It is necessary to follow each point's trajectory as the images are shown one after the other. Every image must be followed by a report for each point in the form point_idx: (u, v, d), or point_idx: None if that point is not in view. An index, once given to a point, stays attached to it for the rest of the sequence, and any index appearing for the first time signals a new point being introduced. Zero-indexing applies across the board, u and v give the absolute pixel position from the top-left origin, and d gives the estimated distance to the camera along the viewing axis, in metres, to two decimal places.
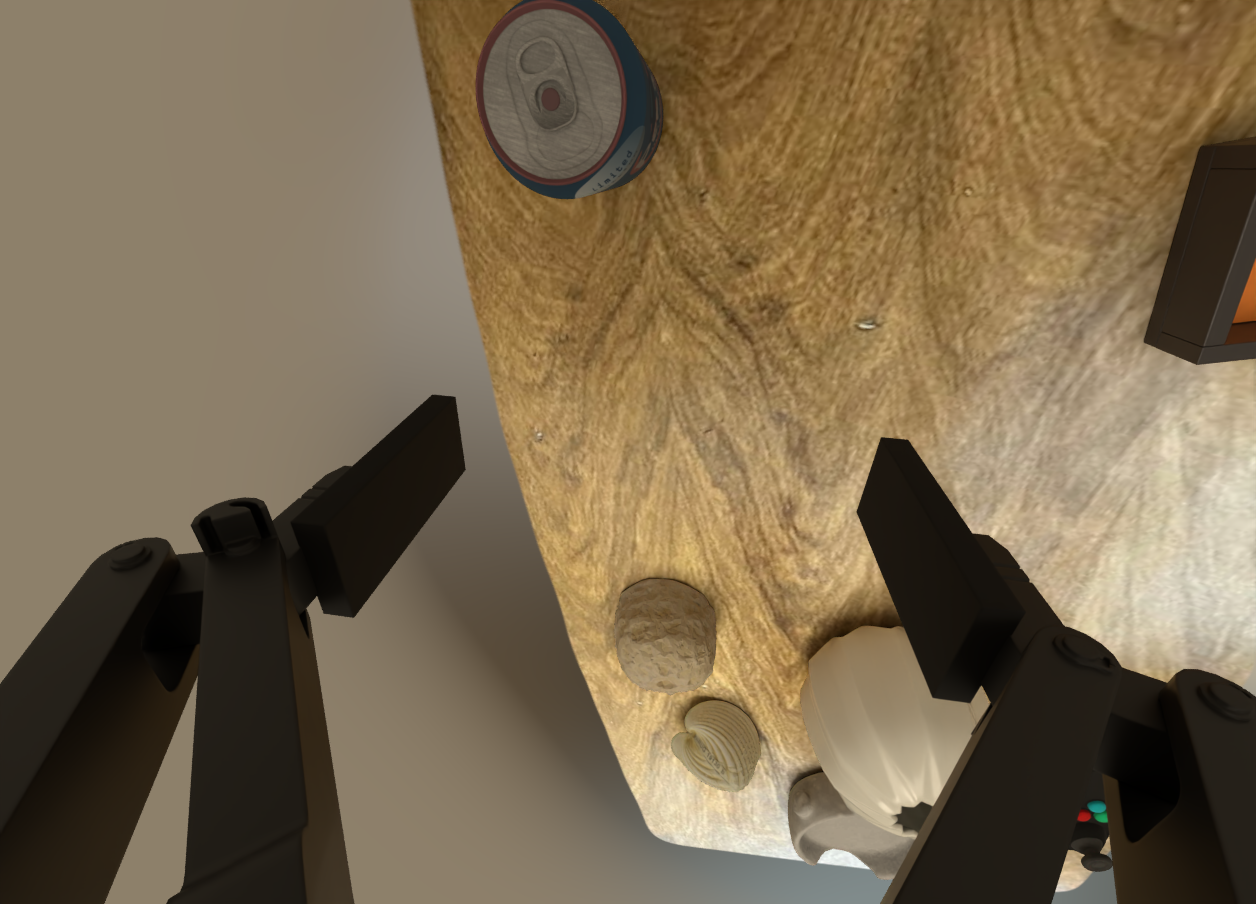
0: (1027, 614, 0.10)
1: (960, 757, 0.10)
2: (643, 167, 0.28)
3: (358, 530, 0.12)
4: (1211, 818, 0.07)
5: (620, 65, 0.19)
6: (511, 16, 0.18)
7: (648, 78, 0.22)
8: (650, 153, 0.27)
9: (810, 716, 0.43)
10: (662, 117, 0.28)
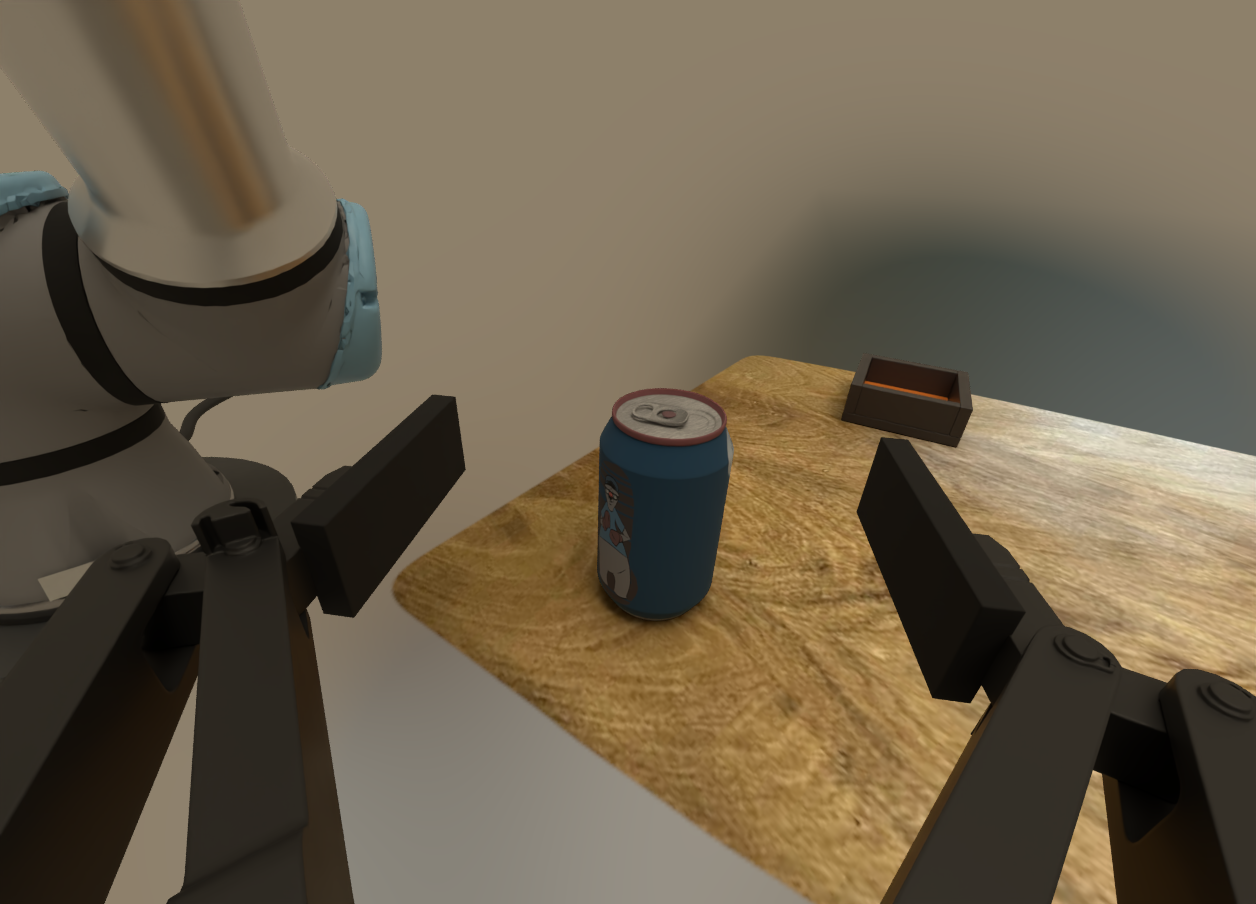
0: (1027, 614, 0.10)
1: (960, 757, 0.10)
2: None
3: (358, 530, 0.12)
4: (1211, 818, 0.07)
5: (681, 390, 0.28)
6: (616, 406, 0.26)
7: None
8: None
9: None
10: None
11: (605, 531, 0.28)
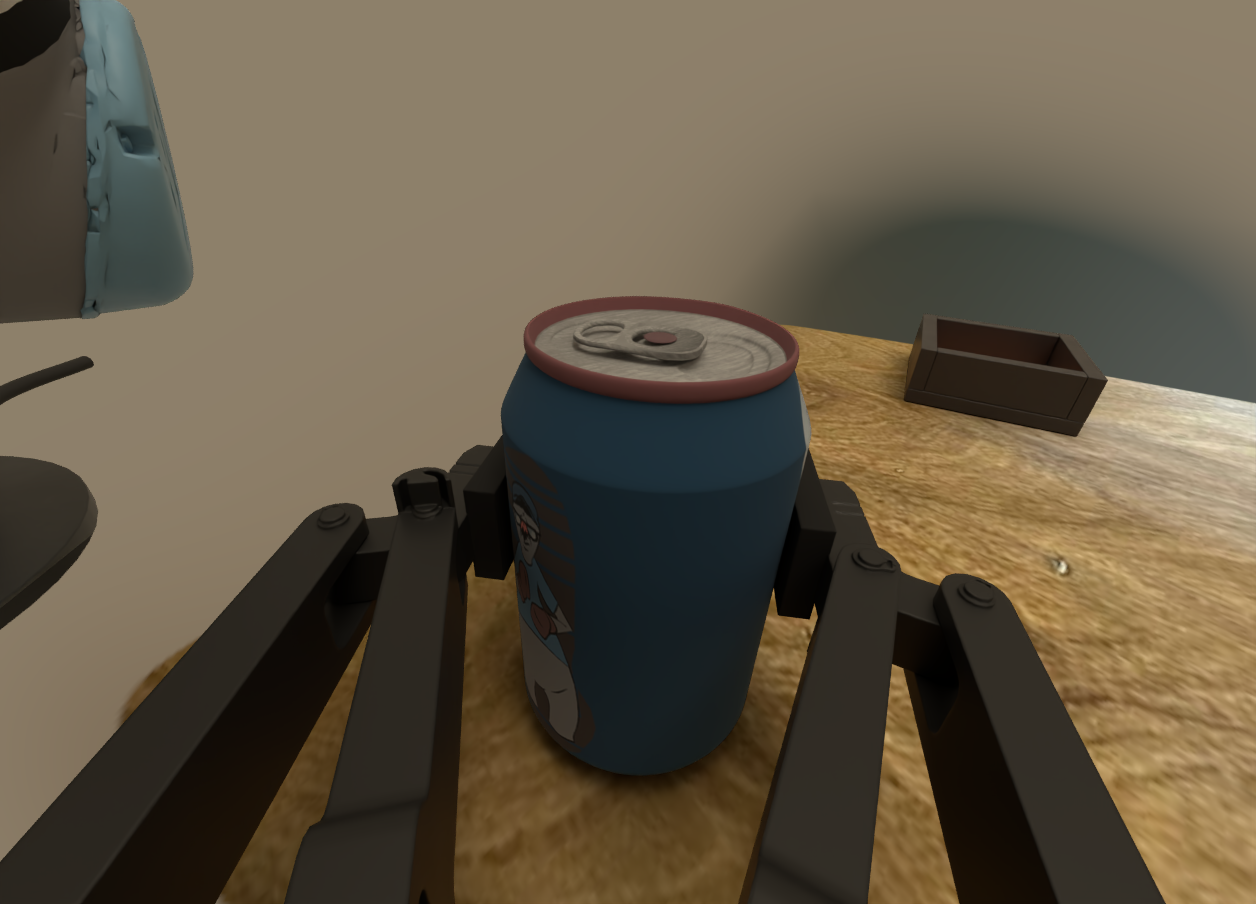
0: (850, 539, 0.12)
1: (801, 675, 0.11)
2: None
3: None
4: (982, 700, 0.08)
5: (687, 300, 0.13)
6: (537, 322, 0.11)
7: None
8: None
9: None
10: None
11: (522, 603, 0.13)
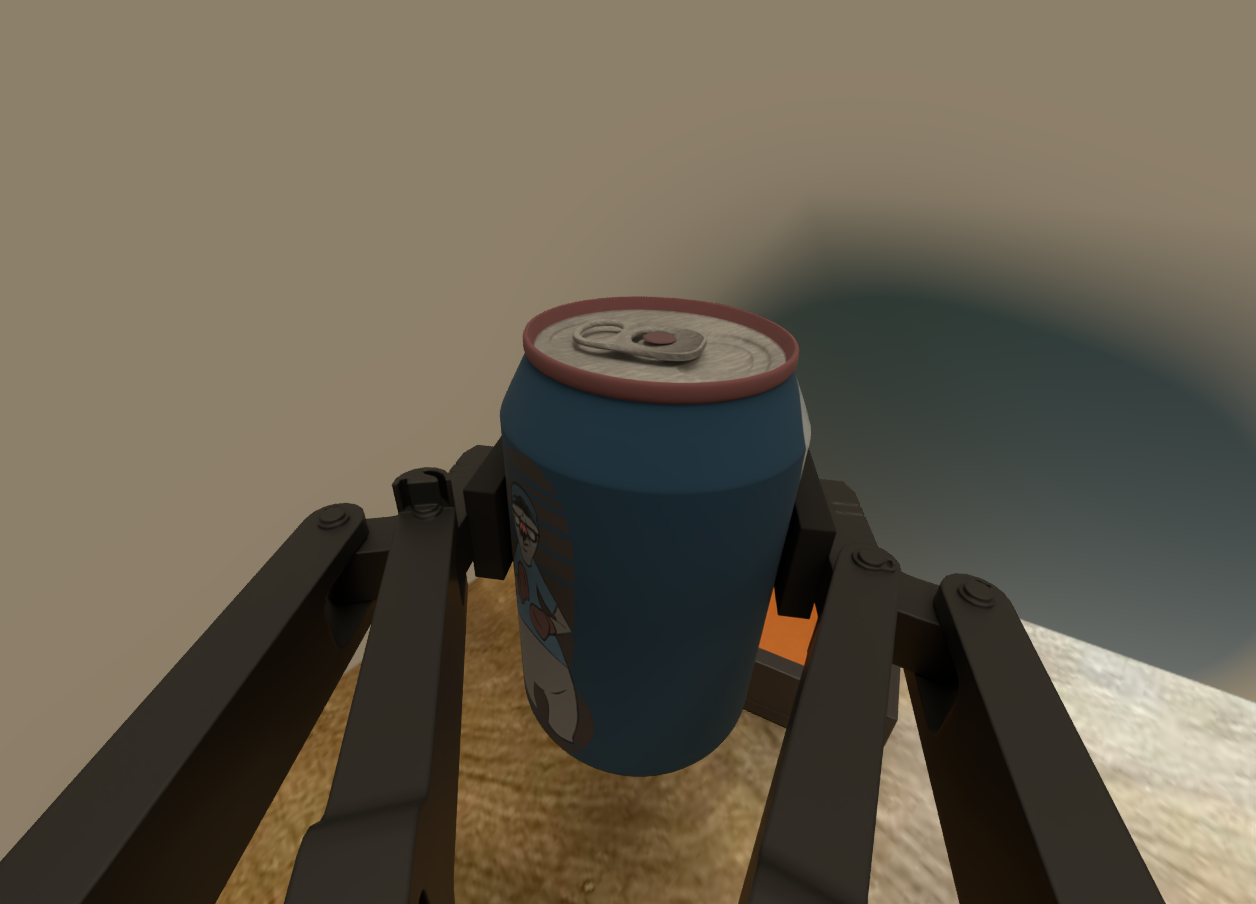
0: (850, 540, 0.12)
1: None
2: None
3: None
4: (982, 700, 0.08)
5: (687, 301, 0.13)
6: (537, 323, 0.11)
7: None
8: None
9: None
10: None
11: (522, 604, 0.13)
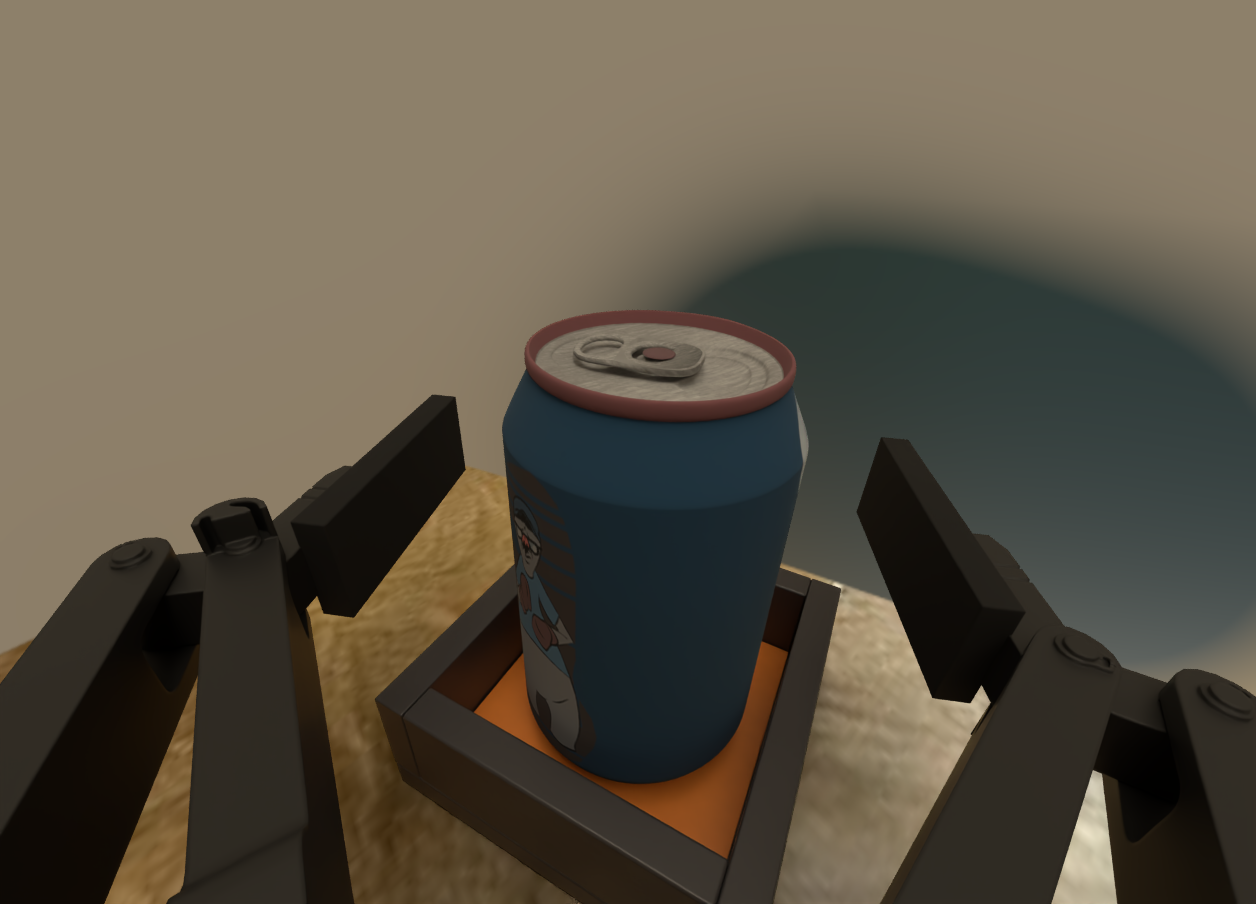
0: (1028, 614, 0.10)
1: (960, 757, 0.10)
2: None
3: (358, 530, 0.12)
4: (1211, 818, 0.07)
5: (686, 314, 0.14)
6: (538, 338, 0.12)
7: None
8: None
9: None
10: None
11: (524, 614, 0.13)
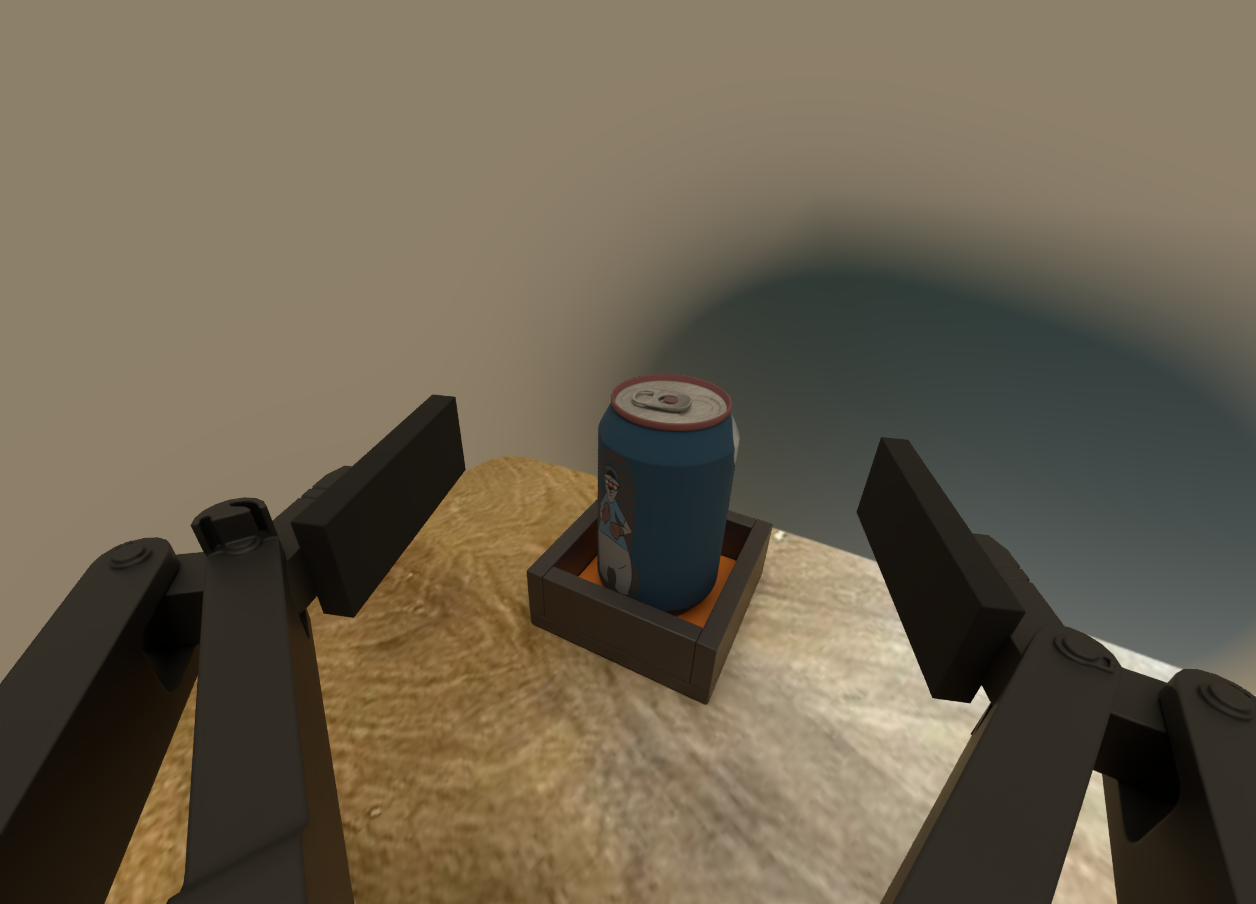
0: (1027, 614, 0.10)
1: (960, 757, 0.10)
2: None
3: (358, 530, 0.12)
4: (1211, 818, 0.07)
5: (683, 376, 0.27)
6: (615, 392, 0.25)
7: None
8: None
9: None
10: None
11: (604, 524, 0.26)
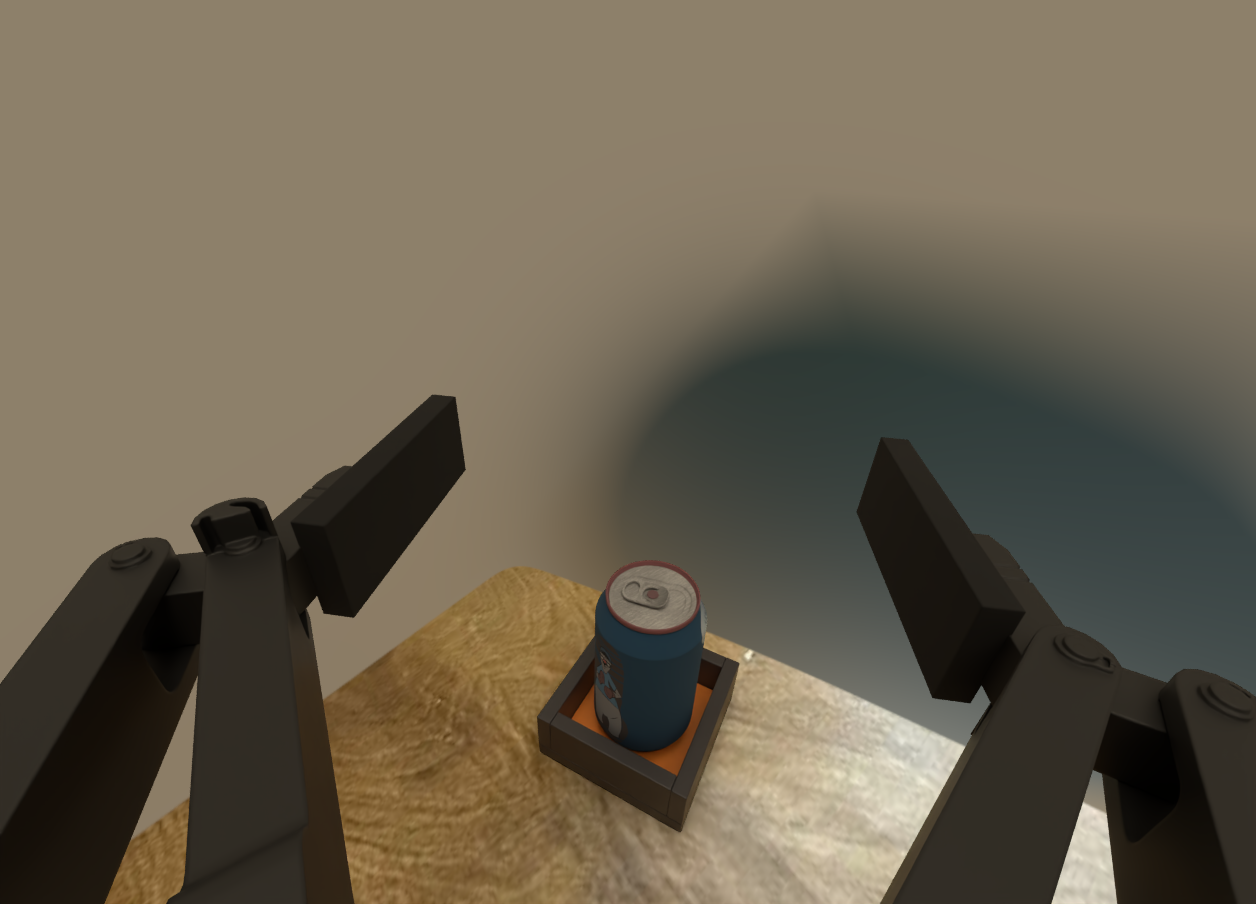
0: (1027, 614, 0.10)
1: (960, 757, 0.10)
2: None
3: (358, 530, 0.12)
4: (1212, 818, 0.07)
5: (664, 562, 0.34)
6: (608, 586, 0.32)
7: None
8: None
9: None
10: None
11: (600, 684, 0.33)
